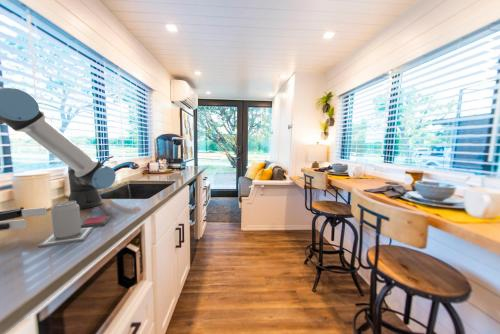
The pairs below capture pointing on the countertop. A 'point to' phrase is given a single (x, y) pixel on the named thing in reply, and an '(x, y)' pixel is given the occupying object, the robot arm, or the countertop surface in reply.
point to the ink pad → (95, 222)
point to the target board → (79, 237)
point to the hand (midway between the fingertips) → (36, 216)
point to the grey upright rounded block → (66, 219)
